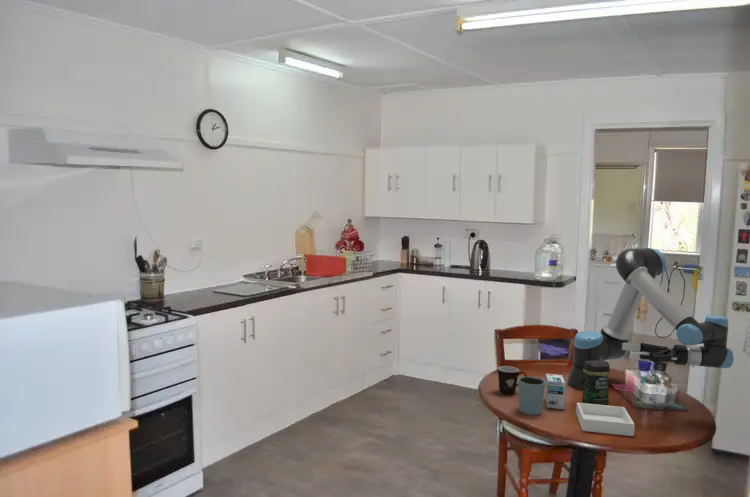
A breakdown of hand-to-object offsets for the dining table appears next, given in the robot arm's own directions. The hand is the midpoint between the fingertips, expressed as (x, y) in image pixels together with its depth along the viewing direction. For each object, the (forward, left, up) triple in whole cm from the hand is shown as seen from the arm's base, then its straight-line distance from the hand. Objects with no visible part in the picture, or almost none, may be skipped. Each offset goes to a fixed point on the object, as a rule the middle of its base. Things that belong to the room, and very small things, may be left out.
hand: (626, 350), depth 224 cm
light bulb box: (+21, -15, -24) cm, 35 cm away
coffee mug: (+29, -32, -24) cm, 49 cm away
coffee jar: (+8, -6, -24) cm, 26 cm away
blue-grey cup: (+35, -13, -24) cm, 44 cm away
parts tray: (+18, +8, -24) cm, 31 cm away
